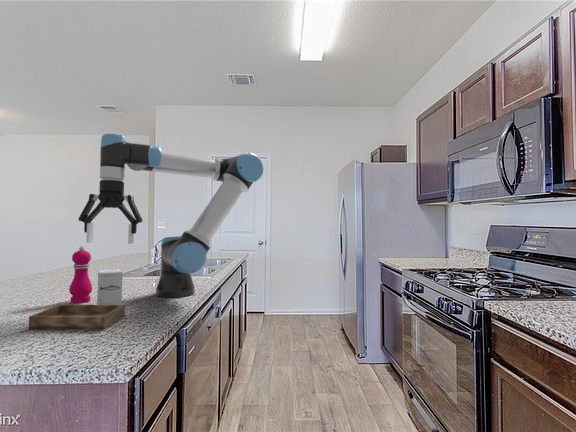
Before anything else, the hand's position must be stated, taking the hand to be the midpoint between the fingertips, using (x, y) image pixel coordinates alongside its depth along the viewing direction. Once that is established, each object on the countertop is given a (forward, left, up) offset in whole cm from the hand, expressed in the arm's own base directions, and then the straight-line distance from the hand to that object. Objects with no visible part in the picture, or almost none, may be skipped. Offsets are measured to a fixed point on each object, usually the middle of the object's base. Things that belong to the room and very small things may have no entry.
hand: (110, 243), depth 122 cm
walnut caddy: (+1, +17, -22) cm, 28 cm away
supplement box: (0, 0, -22) cm, 22 cm away
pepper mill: (+14, -9, -22) cm, 28 cm away
